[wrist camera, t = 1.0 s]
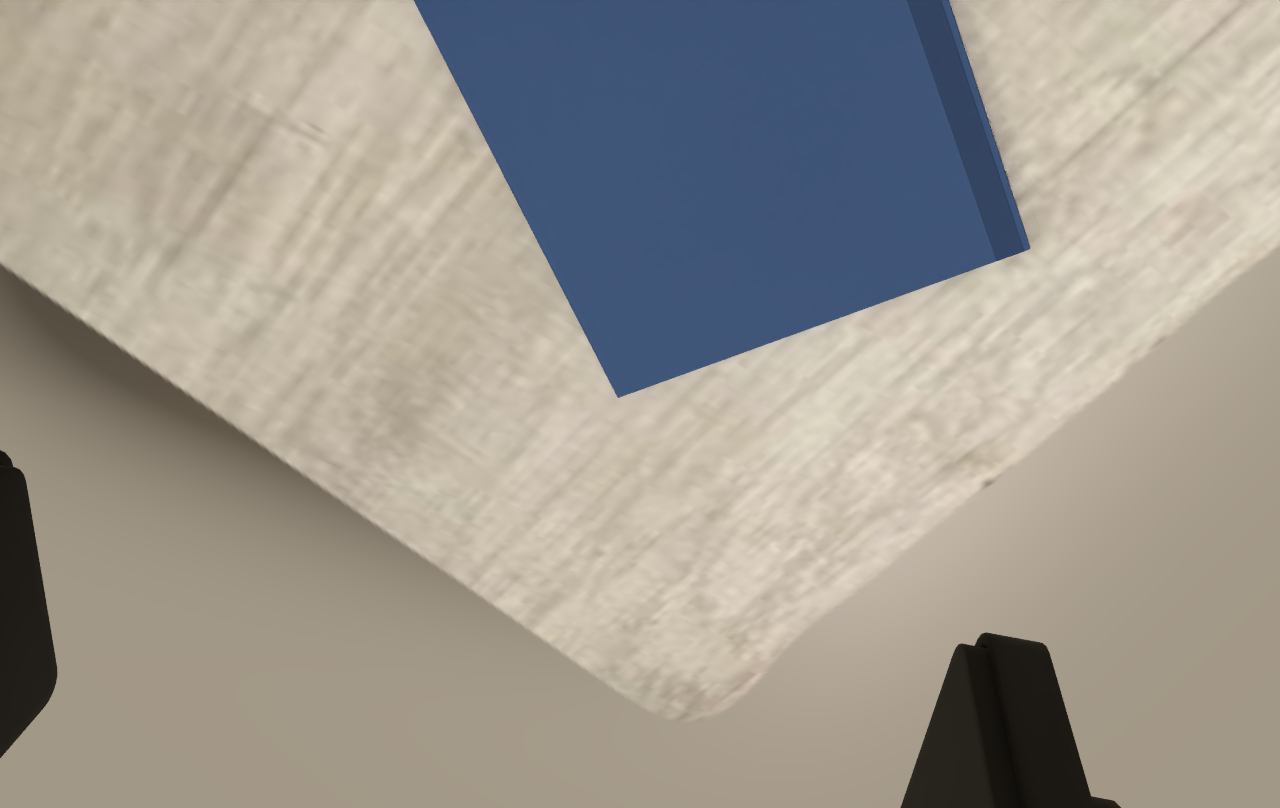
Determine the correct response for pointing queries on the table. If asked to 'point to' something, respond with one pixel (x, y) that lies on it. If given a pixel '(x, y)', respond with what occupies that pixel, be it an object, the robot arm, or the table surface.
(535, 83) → the folder
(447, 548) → the table surface
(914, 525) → the table surface
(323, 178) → the table surface
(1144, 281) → the table surface
